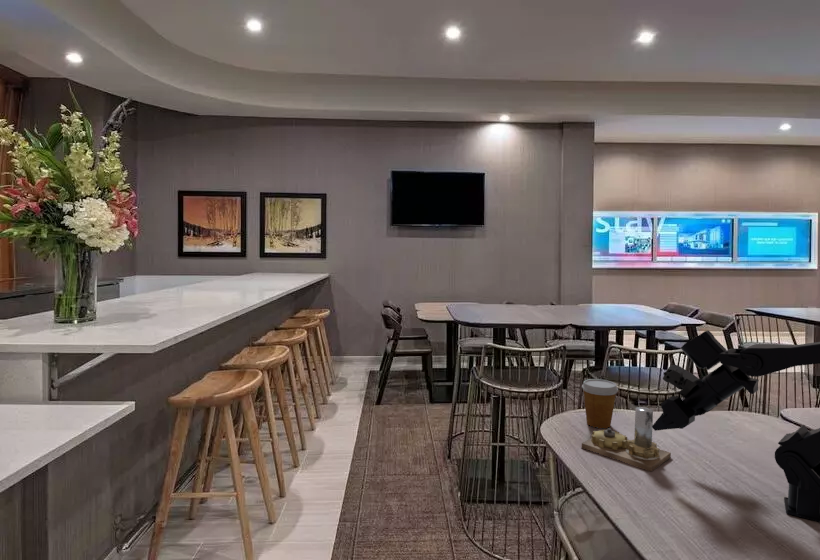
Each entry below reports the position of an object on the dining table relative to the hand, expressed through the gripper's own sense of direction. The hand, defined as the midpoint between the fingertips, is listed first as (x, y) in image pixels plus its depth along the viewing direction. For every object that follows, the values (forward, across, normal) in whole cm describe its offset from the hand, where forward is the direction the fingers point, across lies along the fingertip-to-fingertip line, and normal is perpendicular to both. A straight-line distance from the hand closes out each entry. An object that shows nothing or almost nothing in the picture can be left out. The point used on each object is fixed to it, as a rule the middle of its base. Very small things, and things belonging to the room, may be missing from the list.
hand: (661, 423), depth 112 cm
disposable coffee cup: (+22, -13, -9) cm, 27 cm away
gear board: (+13, 0, +1) cm, 13 cm away
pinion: (+9, 0, +3) cm, 9 cm away
